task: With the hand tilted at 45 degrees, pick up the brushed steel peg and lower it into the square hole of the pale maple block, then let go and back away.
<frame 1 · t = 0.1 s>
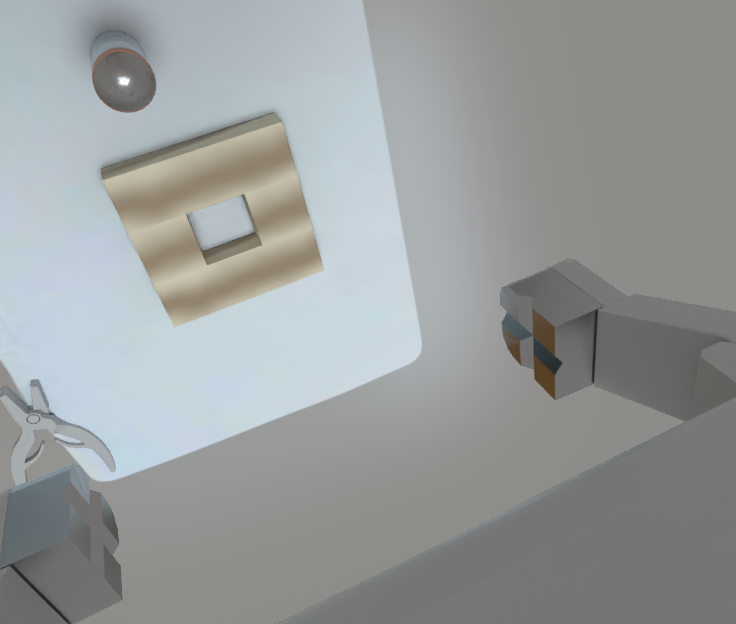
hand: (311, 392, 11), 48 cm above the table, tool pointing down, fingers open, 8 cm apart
pliers: (47, 432, 66), on the table
steel peg: (117, 57, 49), on the table
hitch block: (219, 217, 60), on the table
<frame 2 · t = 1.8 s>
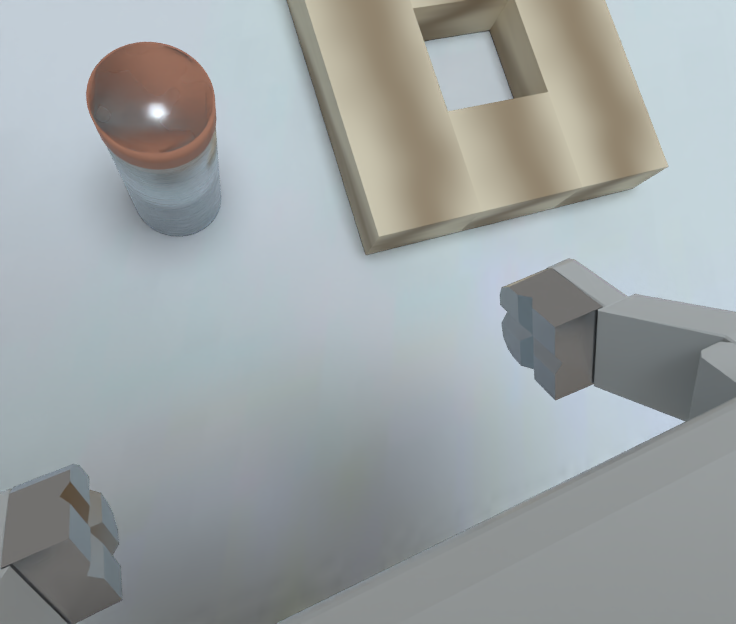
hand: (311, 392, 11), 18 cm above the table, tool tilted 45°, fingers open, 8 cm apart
steel peg: (178, 195, 29), on the table
hitch block: (460, 83, 33), on the table
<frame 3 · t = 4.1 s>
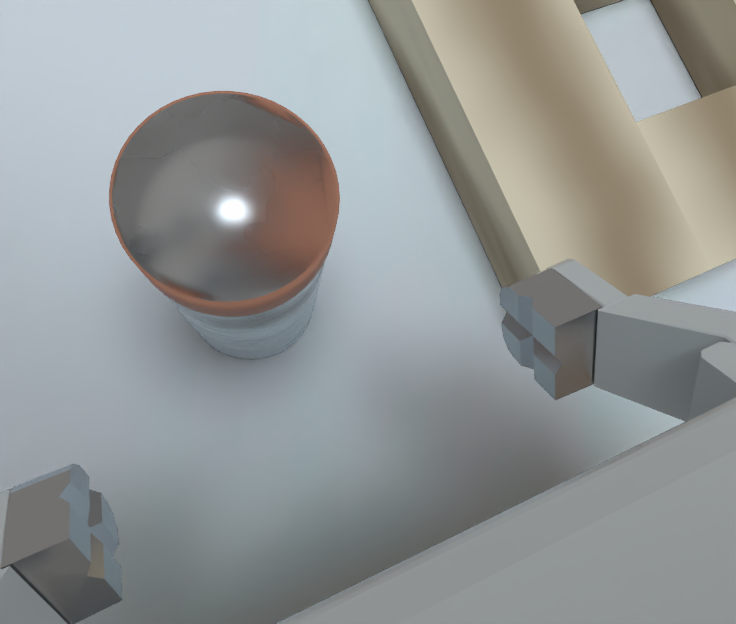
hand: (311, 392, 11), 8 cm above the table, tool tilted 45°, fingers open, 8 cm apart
steel peg: (252, 297, 20), on the table
hitch block: (619, 74, 23), on the table
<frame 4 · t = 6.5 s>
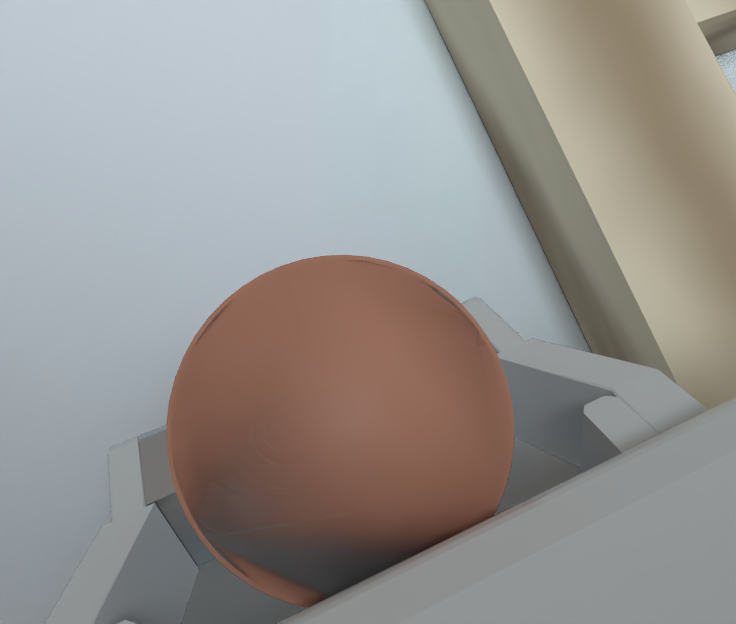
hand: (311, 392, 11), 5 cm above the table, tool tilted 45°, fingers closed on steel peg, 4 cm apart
steel peg: (313, 426, 16), on the table, touching gripper
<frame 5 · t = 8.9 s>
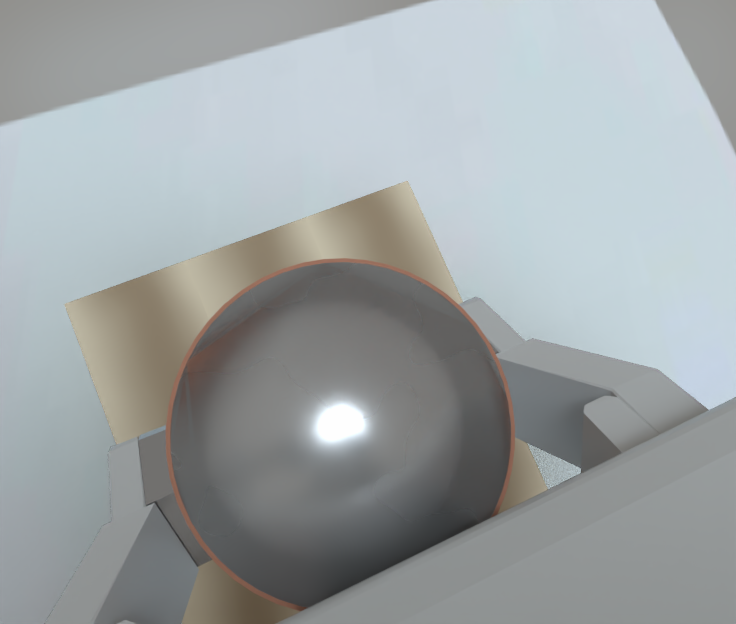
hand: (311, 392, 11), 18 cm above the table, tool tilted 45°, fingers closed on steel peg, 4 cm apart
steel peg: (313, 428, 16), point 13 cm above the table, touching gripper
hitch block: (311, 408, 29), on the table
when the fingers open (7 cm above the table, at t = 11.8 s): steel peg drops 2 cm, resting in hitch block.
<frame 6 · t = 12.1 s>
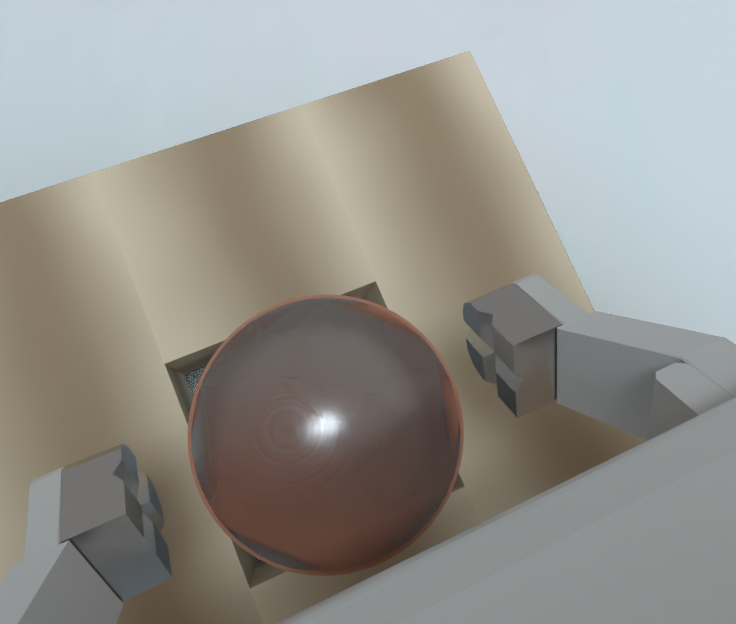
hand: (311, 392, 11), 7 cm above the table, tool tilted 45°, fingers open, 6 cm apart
steel peg: (309, 429, 18), resting in hitch block
hitch block: (311, 426, 18), on the table
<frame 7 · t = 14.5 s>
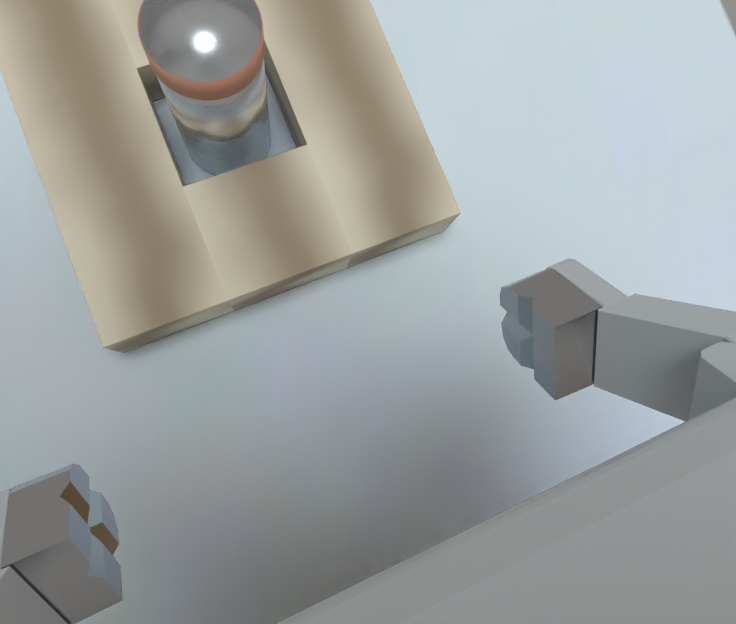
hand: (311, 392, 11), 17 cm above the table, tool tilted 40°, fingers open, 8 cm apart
steel peg: (228, 137, 29), resting in hitch block
hitch block: (229, 135, 29), on the table
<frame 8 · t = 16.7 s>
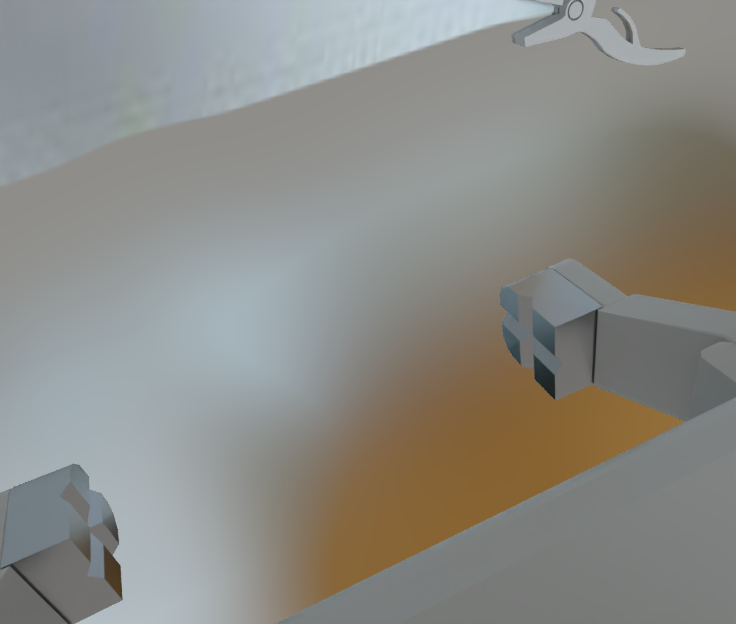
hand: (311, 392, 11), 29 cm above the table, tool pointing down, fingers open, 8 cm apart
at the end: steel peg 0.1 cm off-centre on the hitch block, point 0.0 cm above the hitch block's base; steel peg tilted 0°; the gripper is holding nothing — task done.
